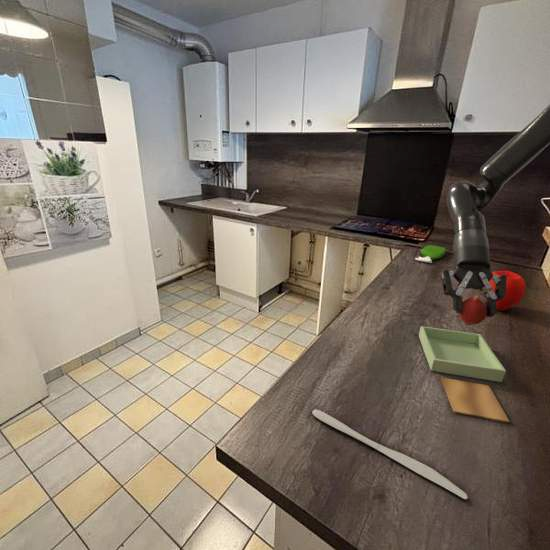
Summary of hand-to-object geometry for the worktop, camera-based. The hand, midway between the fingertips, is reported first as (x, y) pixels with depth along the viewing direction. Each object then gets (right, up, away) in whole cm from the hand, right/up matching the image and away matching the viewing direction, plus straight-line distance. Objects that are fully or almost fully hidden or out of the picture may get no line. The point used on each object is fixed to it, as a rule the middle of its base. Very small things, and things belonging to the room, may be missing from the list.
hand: (474, 314), depth 68 cm
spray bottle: (+33, +18, +81) cm, 90 cm away
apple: (+30, -2, +33) cm, 44 cm away
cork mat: (-4, -18, -5) cm, 19 cm away
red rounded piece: (0, -3, +3) cm, 5 cm away
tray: (0, -12, +8) cm, 15 cm away
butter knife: (-28, -22, -16) cm, 39 cm away
